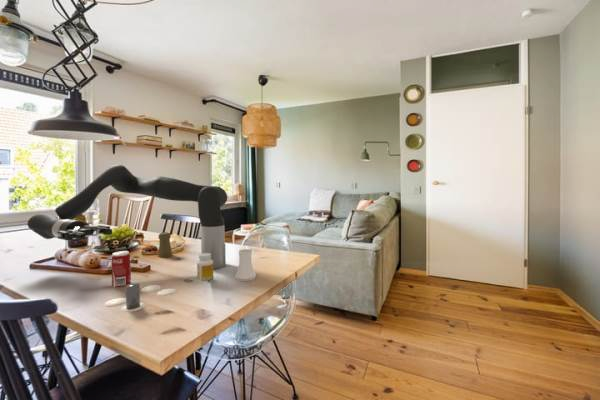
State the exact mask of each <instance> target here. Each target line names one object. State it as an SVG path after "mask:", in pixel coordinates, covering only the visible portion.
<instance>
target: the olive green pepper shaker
mask: <svg viewBox="0 0 600 400" xmlns="http://www.w3.org/2000/svg"><path fill="white" fill-rule="evenodd" d="M171 238H172V234H171V233H170V232H161V233H159V234H158V239H159V245H158V254H157V257H158V258H169V257H173V253H172V252H173V251H172V247H171Z"/></svg>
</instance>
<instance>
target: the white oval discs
mask: <svg viewBox="0 0 600 400" xmlns="http://www.w3.org/2000/svg"><path fill="white" fill-rule="evenodd" d="M161 288H162V287H161V285H159V284H158V285H157V284H153V285H147V286H144V287H142V288H141V289H140V292H143V293H152V292H155V291H158V292H157V293H156V295H157V296H158V297H167V296H168V297H169V296H172V295H174V294H176V293H177V292H178V289H176V288H165V289H161ZM160 289H161V290H160ZM124 304H125V305H124ZM122 305H123V306H122ZM103 306H105V307H108V308H114V307H118V306H122V307H121V308H120V311H121V312H123V313H124V312H125V313H131V312H136V311H140V310H141V309H143V308H144V307H145V306H146V304H145V302H141V301H140V307H138V308H136V309H131V310H128V309H126V297H122V298H121V297H118V298H114V299H110V300H107V301H105V302H104V303H103Z"/></svg>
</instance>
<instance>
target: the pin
mask: <svg viewBox="0 0 600 400" xmlns="http://www.w3.org/2000/svg"><path fill="white" fill-rule="evenodd" d="M124 287H125V298H126V303H125V305H126V309H128V310H131V309H136V308H138V307H140V302H141V299H140V298H141V296H140V295H141V294H140V293H141V289H140V283H138V282H133V283H132V282H131V284H128V285H126V286H124Z"/></svg>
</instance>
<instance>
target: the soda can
mask: <svg viewBox="0 0 600 400" xmlns="http://www.w3.org/2000/svg"><path fill="white" fill-rule="evenodd" d="M110 258H111V259H110V260H111V261H110V263H111V265H110V266H111V284H112V287H113V288H123V287H125V286H126V285H128V284H131V283H132V274H131V273H132V272H131V271H132V267H131V255H130V253H129V251H128V250H120V251H115V252H112V255H111V257H110Z"/></svg>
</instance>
